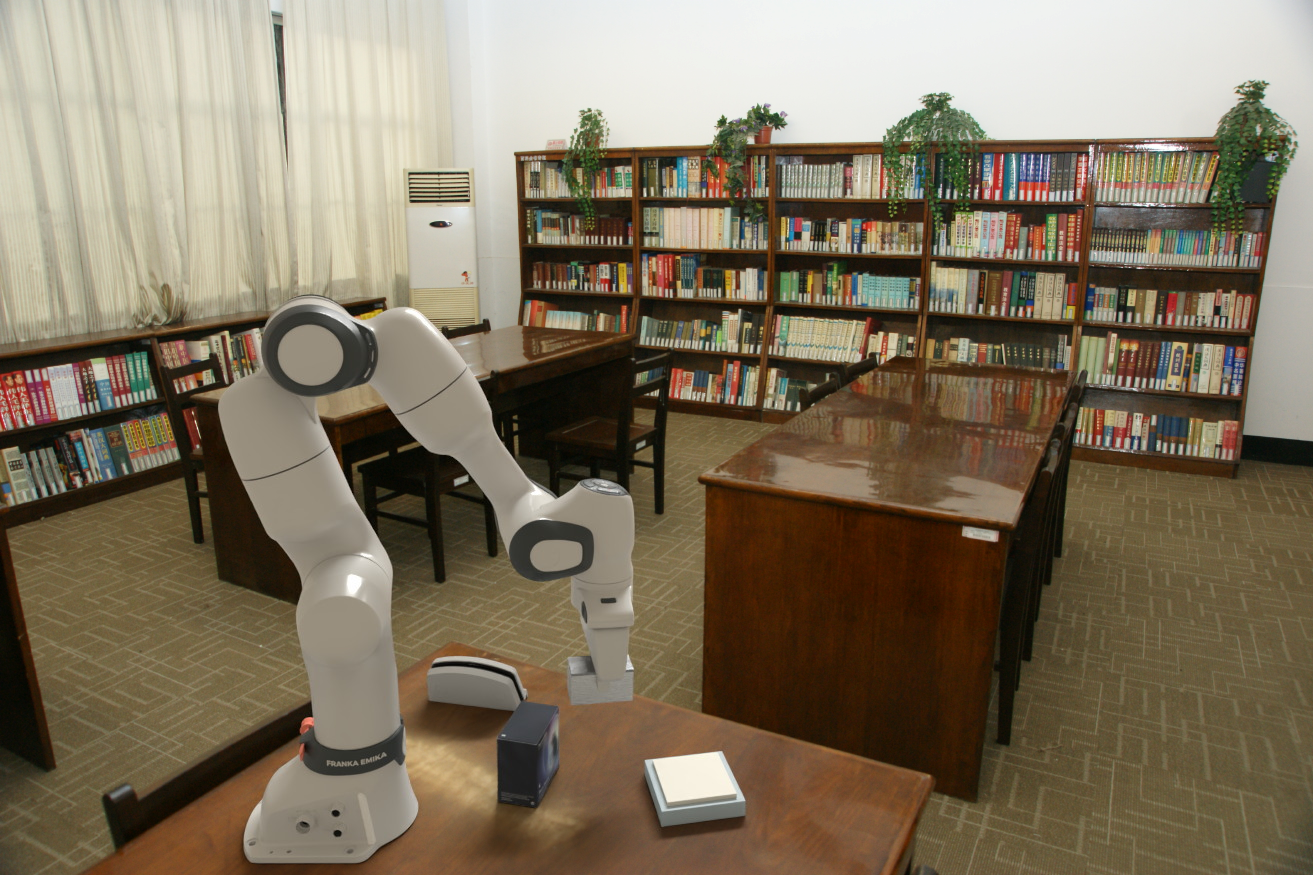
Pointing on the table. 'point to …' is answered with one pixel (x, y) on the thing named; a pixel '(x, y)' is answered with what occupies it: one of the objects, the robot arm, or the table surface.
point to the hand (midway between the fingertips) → (599, 678)
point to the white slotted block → (475, 683)
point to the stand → (693, 788)
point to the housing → (585, 687)
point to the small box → (527, 754)
